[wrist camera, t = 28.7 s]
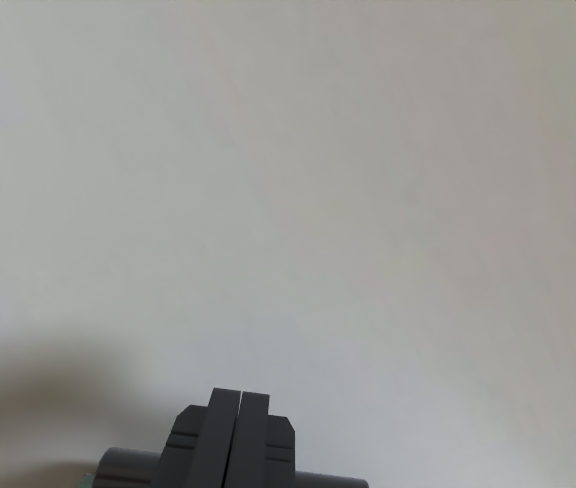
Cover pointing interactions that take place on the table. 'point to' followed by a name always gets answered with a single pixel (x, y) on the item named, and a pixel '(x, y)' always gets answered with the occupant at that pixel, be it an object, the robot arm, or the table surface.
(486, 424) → the table surface
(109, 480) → the drawer
